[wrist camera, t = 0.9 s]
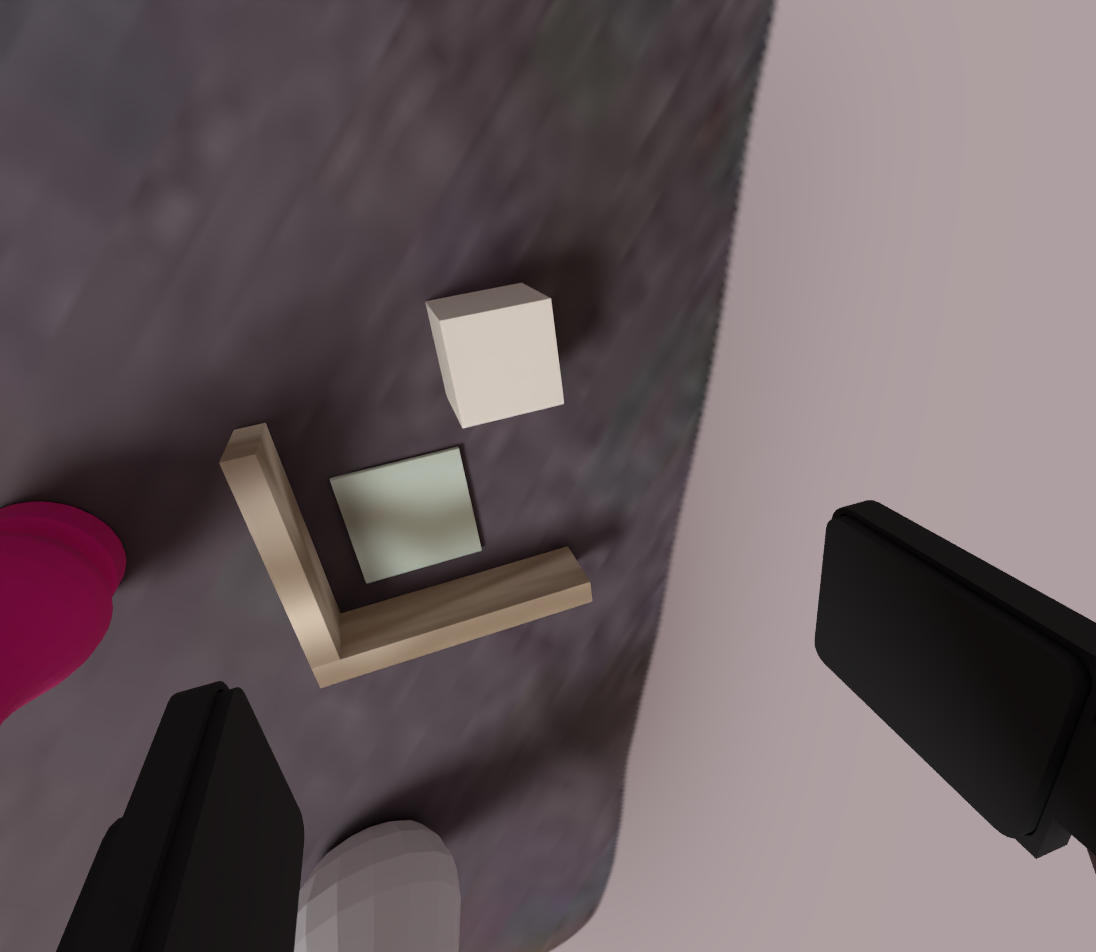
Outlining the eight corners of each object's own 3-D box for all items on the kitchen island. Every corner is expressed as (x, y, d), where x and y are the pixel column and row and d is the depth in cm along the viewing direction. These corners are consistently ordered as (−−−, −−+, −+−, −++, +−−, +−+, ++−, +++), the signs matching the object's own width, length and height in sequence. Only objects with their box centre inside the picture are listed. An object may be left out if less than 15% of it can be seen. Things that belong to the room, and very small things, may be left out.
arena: (233, 429, 29) (218, 462, 25) (542, 360, 32) (566, 381, 29) (322, 639, 35) (320, 688, 32) (570, 564, 39) (592, 601, 35)
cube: (425, 301, 29) (439, 320, 25) (521, 282, 30) (551, 298, 26) (446, 396, 31) (462, 429, 27) (535, 376, 32) (564, 404, 28)
